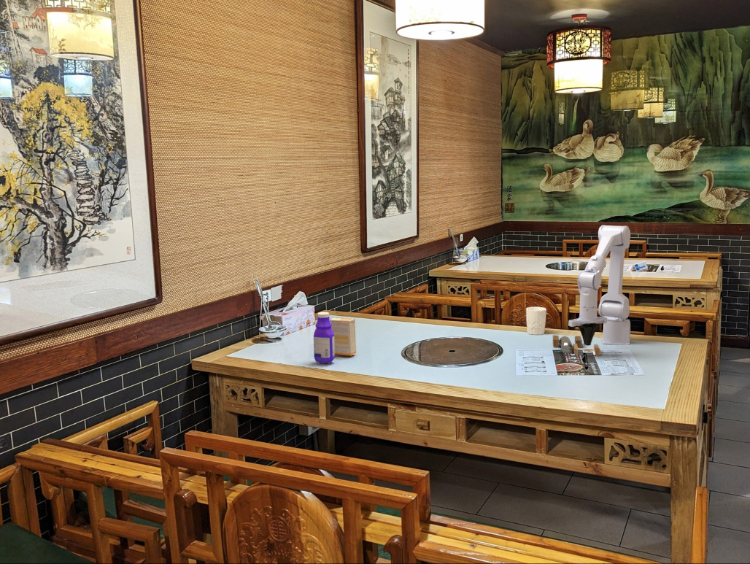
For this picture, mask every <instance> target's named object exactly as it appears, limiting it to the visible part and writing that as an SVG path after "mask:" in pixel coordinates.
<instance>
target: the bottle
mask: <svg viewBox="0 0 750 564" xmlns="http://www.w3.org/2000/svg"><path fill="white" fill-rule="evenodd" d="M316 320H317V321H316V323H315V329H314V332H313V358H314V361H315V362H316V363H324V364H329V363H331V362H333V361H334V360H335V358H336V357H335V355H336V354H335V342H334V332H333V330H332V329H331V326H332V324H331V322H330V320H331V318H330V312H328V311H320V312H318V313H317V319H316Z"/></svg>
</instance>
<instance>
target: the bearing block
mask: <svg viewBox="0 0 750 564" xmlns="http://www.w3.org/2000/svg"><path fill="white" fill-rule="evenodd" d="M559 340H560V336H559V335H558V334H557V335H555V334H554V335H552V347H553V349H559V348H560V343H559ZM574 344H577V346H578V349H583V338H582V335H575V336H574Z"/></svg>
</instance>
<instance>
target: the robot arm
mask: <svg viewBox="0 0 750 564" xmlns="http://www.w3.org/2000/svg"><path fill="white" fill-rule="evenodd" d="M597 234H598V235H597V238H598V245H597V249H596V251H595V253H594V255H592V256H591V257H590V258H589V259H588V263H587V265H586V266H585V269H584V271H582V272H580V273H578V276H577V281H576V282H577V287H578V293H579V316H578V318H574V319H569V320H568V326H569V327H572V328H573V327H576V326H577V329H578V330H579V332H580V334H581V338H582V343H583V345H585V346H588V347H589V346H591V345H592V342H593V339H594V336H595V334H596V332H597V331H598V329H599V325H598V324H603V326H602V327H603V329H602V337H600V341H601V343H602V345H615V346H616V345H617V346H619V345H622V346H624V345H626V346H630V345H631V321H630V319H628V317H629V316H630V300H629V298H628V297H627V296H625V294H623V280H624V268H625V267H624V264H625V253H626V250H627V249H629V248H630V244H631V242H630V241H631V230H630V228H629V226H628V225H605V224H602V225H601V226H599V228H598V231H597ZM609 253H610V255H609ZM608 255H609V270H608V283H607V285H608V286H607V292H606V293H605V294H604V295H603V296H601V297H600V301H599V304H598V290H599V289H600V287H601V284H602V279H603V276H602V274H603V272H604V270H605V267H606V265H607V261H606V258H607V256H608ZM598 314H599V316H598Z"/></svg>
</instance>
